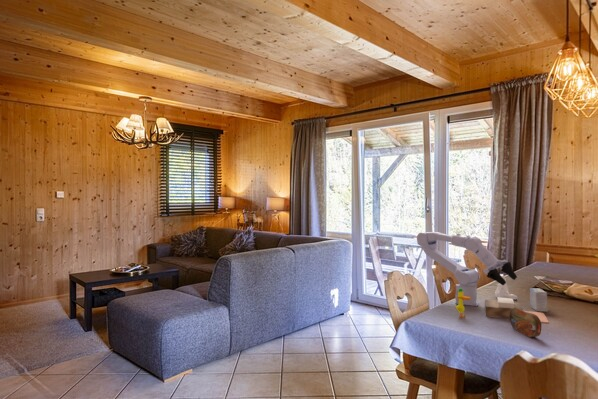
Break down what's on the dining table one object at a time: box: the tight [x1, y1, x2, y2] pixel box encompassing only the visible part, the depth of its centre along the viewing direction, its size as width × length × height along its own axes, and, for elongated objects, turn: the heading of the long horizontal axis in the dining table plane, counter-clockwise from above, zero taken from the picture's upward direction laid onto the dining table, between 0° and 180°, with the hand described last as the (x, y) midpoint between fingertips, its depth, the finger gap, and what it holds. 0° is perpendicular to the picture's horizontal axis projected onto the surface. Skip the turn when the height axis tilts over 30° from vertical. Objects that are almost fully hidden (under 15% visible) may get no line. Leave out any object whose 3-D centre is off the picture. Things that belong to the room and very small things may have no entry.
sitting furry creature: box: [494, 273, 518, 301], centre depth 195 cm, size 10×9×12 cm
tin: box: [509, 308, 542, 338], centre depth 146 cm, size 15×3×8 cm, turn 5°
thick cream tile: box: [496, 297, 515, 308], centre depth 169 cm, size 6×9×2 cm, turn 156°
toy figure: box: [454, 288, 471, 318], centre depth 166 cm, size 7×4×12 cm, turn 54°
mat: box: [527, 310, 550, 324], centre depth 164 cm, size 9×14×1 cm, turn 156°
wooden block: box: [484, 299, 523, 319], centre depth 169 cm, size 14×12×4 cm
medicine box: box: [529, 287, 548, 313], centre depth 176 cm, size 8×4×9 cm, turn 168°
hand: (510, 281), depth 170 cm, fingers open, 7 cm apart
